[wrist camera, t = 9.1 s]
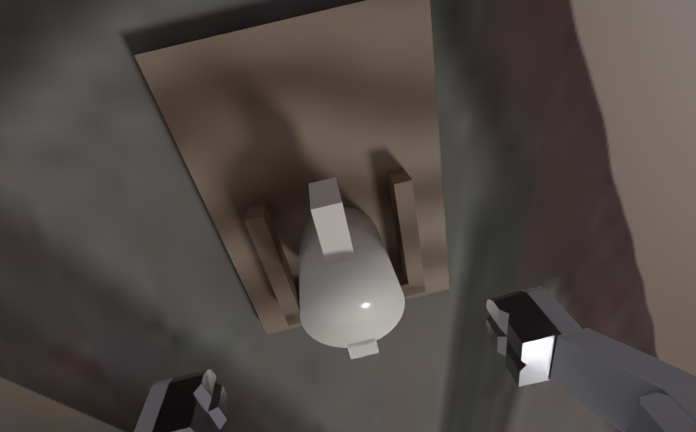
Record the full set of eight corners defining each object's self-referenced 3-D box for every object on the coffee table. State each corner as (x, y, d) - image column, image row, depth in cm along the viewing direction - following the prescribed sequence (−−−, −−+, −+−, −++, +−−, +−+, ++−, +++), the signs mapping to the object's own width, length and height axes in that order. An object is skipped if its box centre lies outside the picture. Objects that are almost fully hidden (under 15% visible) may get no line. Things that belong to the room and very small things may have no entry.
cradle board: (445, 281, 30) (459, 305, 28) (268, 325, 30) (265, 354, 27) (422, -13, 19) (442, -19, 17) (141, 53, 19) (116, 58, 16)
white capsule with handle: (386, 274, 28) (411, 344, 21) (313, 291, 27) (318, 367, 21) (364, 151, 22) (389, 199, 16) (273, 172, 22) (265, 228, 16)
